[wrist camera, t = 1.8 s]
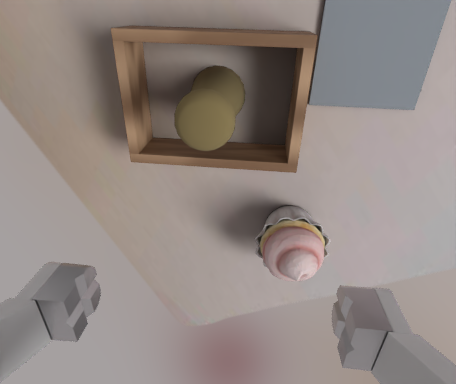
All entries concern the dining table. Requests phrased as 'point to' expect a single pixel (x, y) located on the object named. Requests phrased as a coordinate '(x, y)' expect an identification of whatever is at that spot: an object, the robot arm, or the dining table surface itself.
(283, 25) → the dining table surface
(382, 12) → the felt pad
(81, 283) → the robot arm
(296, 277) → the cupcake
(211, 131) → the olive piece
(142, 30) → the frame
